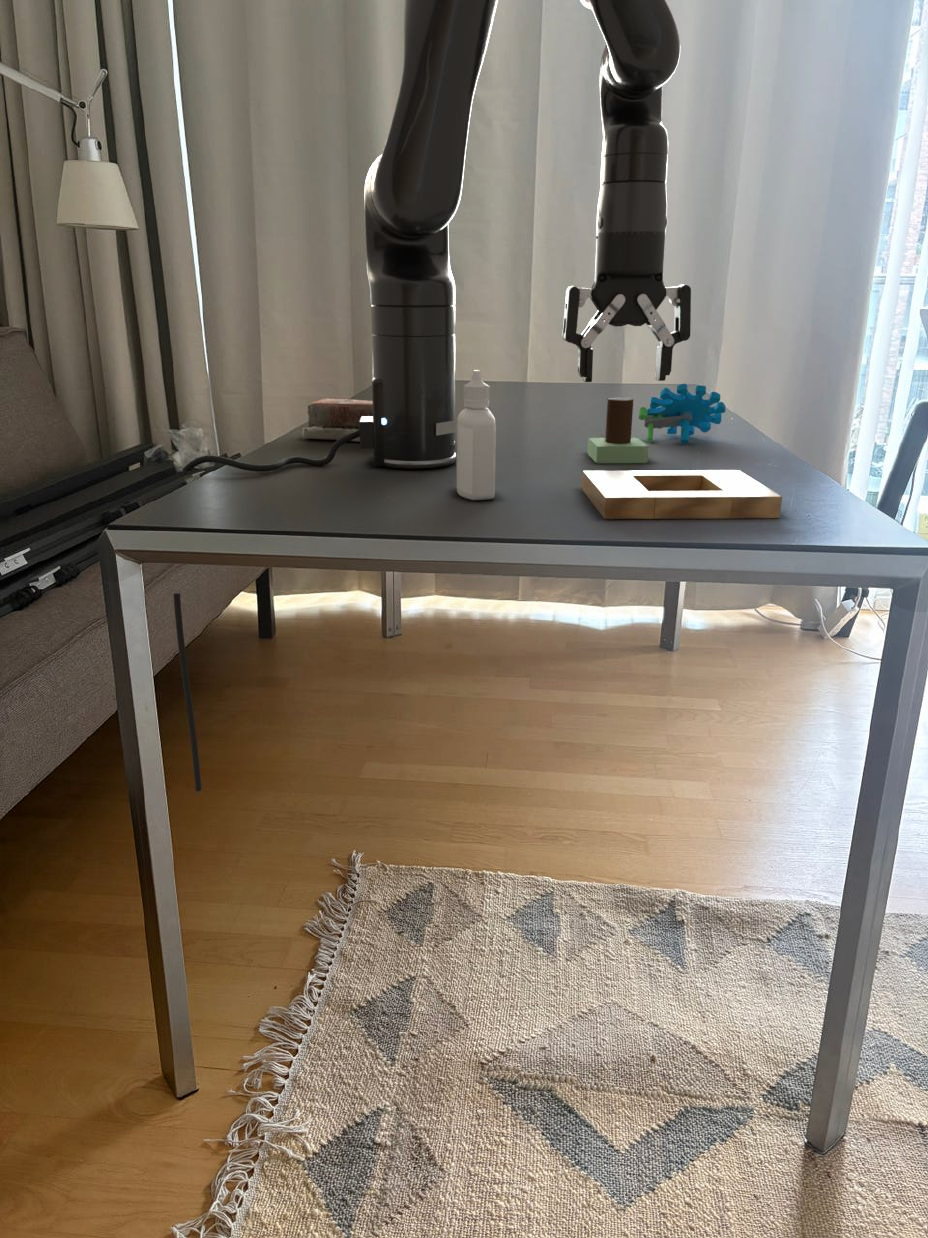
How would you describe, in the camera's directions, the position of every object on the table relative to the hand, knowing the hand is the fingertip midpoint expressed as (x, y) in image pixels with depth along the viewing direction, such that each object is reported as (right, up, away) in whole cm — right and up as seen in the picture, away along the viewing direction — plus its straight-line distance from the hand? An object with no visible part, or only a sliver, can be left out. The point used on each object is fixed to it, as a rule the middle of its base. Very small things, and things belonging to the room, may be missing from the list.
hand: (623, 380), depth 108 cm
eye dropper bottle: (-17, -16, -16) cm, 28 cm away
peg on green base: (0, -9, +3) cm, 9 cm away
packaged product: (-30, -3, +17) cm, 34 cm away
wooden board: (+2, -17, -18) cm, 25 cm away
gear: (+10, -4, +16) cm, 19 cm away
